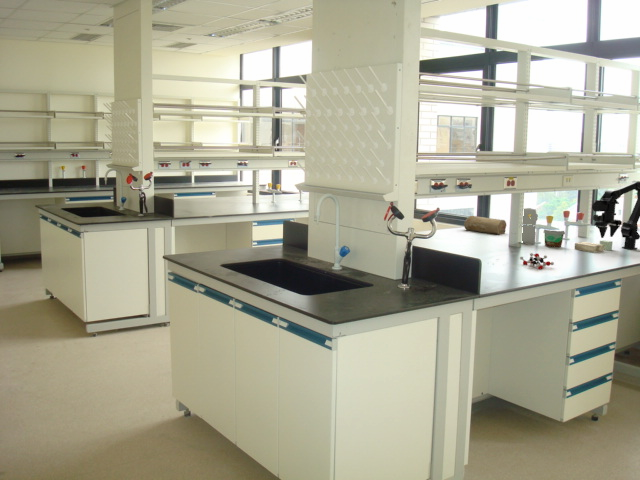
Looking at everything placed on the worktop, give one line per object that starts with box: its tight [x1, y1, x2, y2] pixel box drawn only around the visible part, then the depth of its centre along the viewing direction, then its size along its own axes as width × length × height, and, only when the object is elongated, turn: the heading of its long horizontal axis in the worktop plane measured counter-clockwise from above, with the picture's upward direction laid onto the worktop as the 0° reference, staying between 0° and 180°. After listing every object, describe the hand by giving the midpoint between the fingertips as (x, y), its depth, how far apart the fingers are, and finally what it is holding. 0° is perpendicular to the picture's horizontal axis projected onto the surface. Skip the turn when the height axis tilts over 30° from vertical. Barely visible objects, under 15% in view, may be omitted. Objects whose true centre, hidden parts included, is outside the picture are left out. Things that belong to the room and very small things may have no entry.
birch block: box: [574, 241, 604, 253], centre depth 360 cm, size 10×12×4 cm
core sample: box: [463, 215, 507, 235], centre depth 421 cm, size 14×26×10 cm, turn 46°
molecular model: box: [519, 252, 555, 270], centre depth 307 cm, size 10×12×15 cm
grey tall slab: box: [522, 207, 539, 245], centre depth 376 cm, size 11×4×22 cm, turn 61°
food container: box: [543, 229, 566, 248], centre depth 367 cm, size 12×6×10 cm, turn 62°
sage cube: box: [599, 239, 613, 251], centre depth 364 cm, size 5×5×5 cm
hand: (606, 237), depth 363 cm, fingers open, 9 cm apart
